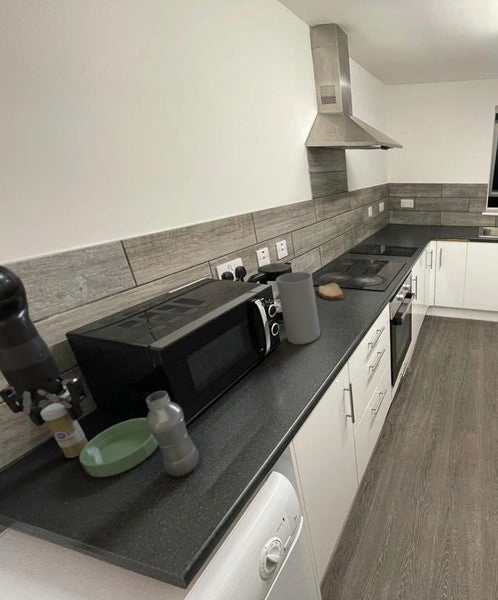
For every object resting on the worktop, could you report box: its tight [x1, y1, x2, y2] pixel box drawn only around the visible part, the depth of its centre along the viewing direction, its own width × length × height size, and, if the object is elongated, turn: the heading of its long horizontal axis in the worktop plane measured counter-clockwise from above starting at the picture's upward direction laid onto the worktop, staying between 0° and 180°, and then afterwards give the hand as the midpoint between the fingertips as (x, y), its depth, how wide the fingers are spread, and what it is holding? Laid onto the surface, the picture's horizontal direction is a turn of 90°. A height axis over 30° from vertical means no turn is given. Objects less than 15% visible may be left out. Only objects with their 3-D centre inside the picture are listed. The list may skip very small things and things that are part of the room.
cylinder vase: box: [275, 271, 321, 345], centre depth 122 cm, size 12×12×25 cm
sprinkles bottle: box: [41, 402, 89, 459], centre depth 75 cm, size 5×5×14 cm
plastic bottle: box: [145, 390, 200, 477], centre depth 69 cm, size 6×7×20 cm
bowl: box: [78, 417, 159, 478], centre depth 76 cm, size 14×14×4 cm
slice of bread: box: [317, 282, 345, 301], centre depth 170 cm, size 18×18×4 cm
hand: (60, 420), depth 74 cm, fingers open, 6 cm apart
